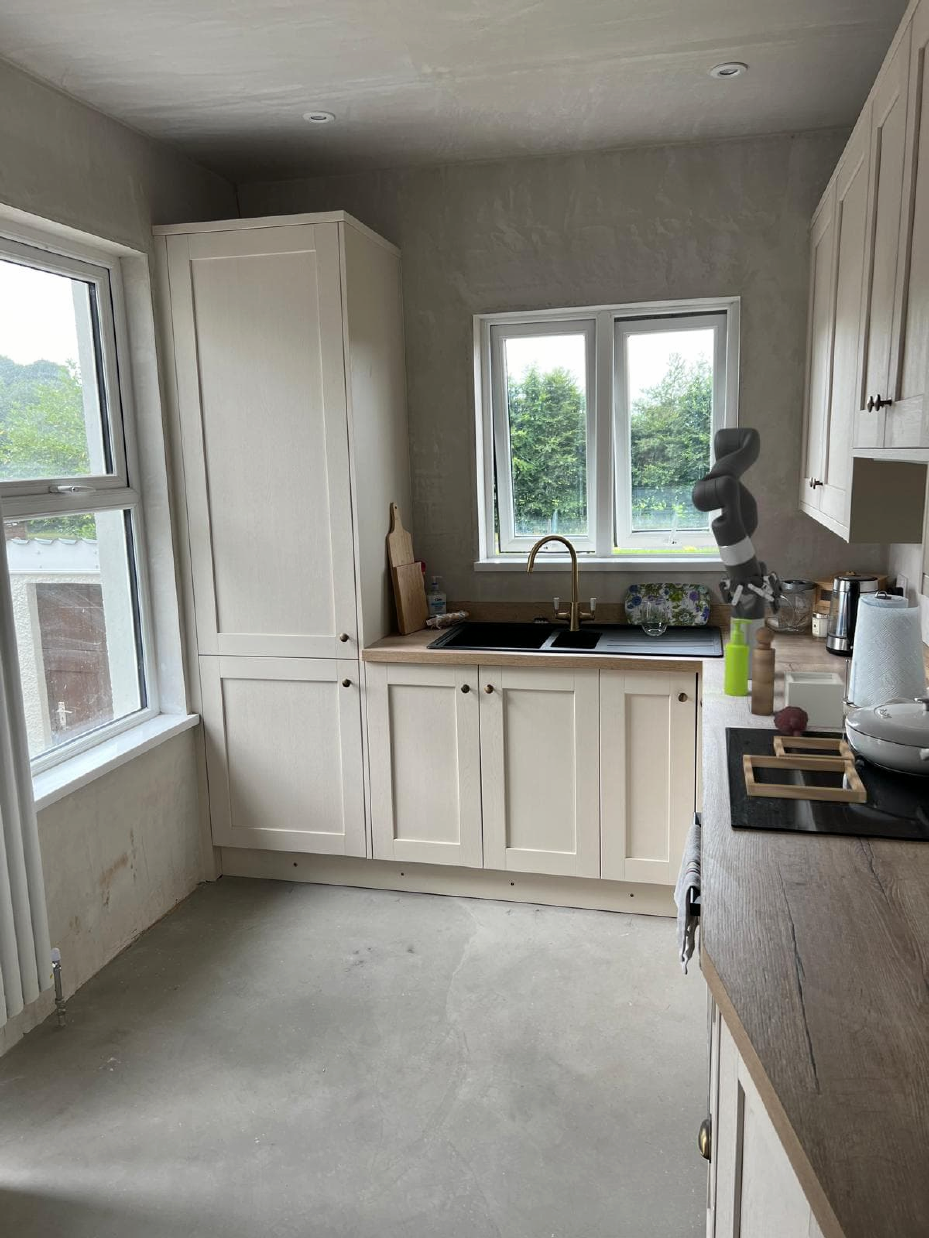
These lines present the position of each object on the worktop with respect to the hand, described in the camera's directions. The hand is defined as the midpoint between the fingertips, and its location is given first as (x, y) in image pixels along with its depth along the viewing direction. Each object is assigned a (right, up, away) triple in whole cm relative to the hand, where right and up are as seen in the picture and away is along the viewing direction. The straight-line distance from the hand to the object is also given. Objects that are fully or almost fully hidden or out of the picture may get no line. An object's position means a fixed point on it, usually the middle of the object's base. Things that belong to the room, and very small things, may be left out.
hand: (759, 614), depth 220 cm
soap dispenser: (+2, -21, +23) cm, 32 cm away
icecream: (+2, -28, -15) cm, 31 cm away
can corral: (+2, -30, -30) cm, 42 cm away
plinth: (+12, -25, -3) cm, 28 cm away
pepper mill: (+2, -24, +4) cm, 25 cm away
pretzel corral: (-7, -33, -45) cm, 56 cm away
